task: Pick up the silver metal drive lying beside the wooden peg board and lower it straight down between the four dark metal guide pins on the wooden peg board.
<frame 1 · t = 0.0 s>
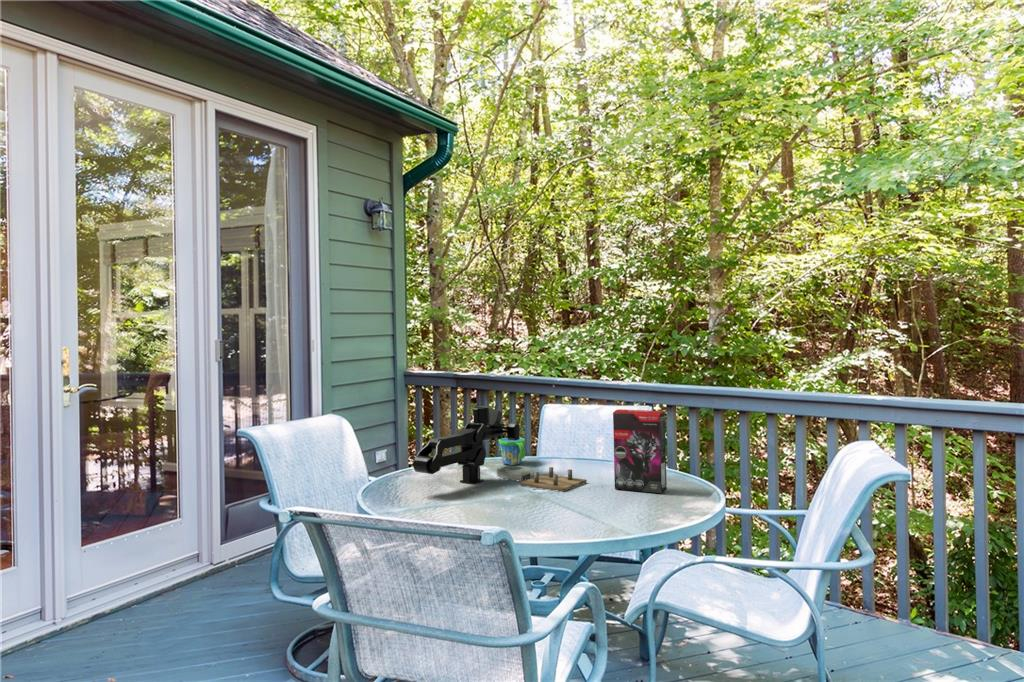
hand: (510, 427, 283), 17 cm above the table, tool horizontal, fingers open, 9 cm apart
wooden peg board: (553, 484, 256), on the table
drive: (514, 478, 267), on the table
graphics card box: (640, 490, 245), on the table
snack cup: (512, 464, 294), on the table
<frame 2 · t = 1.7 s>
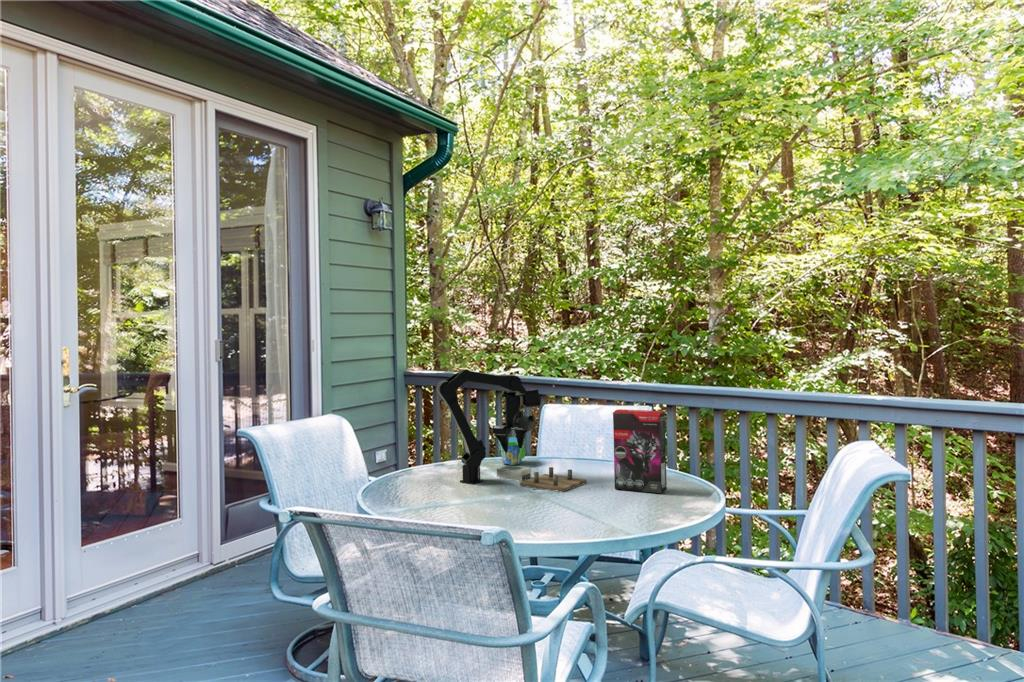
hand: (513, 450, 267), 10 cm above the table, tool pointing down, fingers open, 9 cm apart
nothing on the table moved.
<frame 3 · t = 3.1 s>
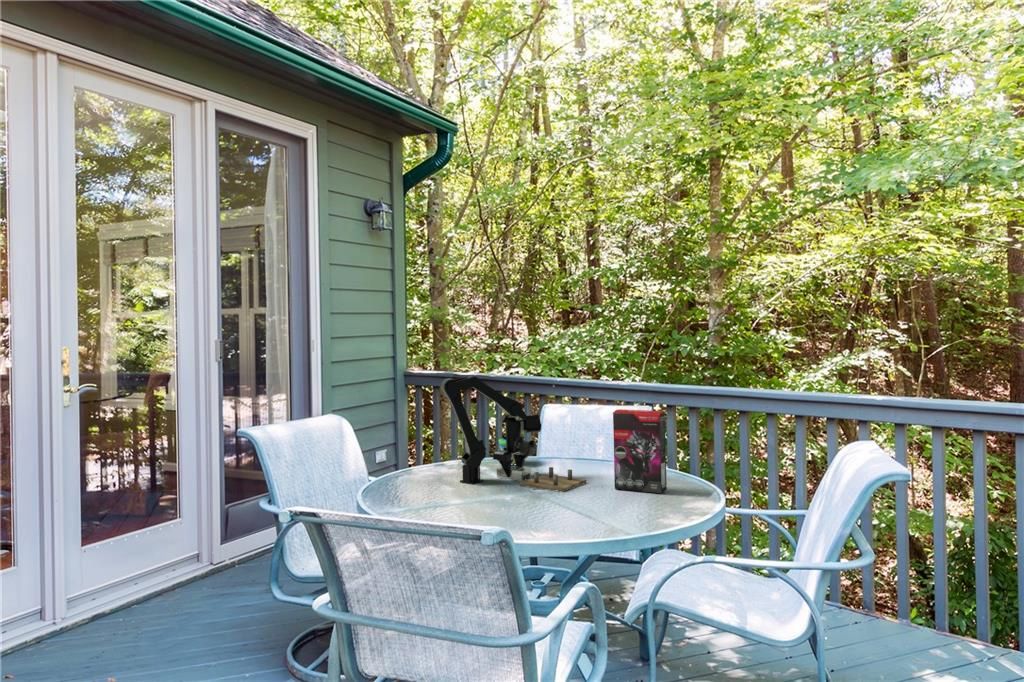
hand: (514, 475, 267), 1 cm above the table, tool pointing down, fingers closed on drive, 7 cm apart
drive: (513, 479, 267), on the table, touching gripper
everything else where it was.
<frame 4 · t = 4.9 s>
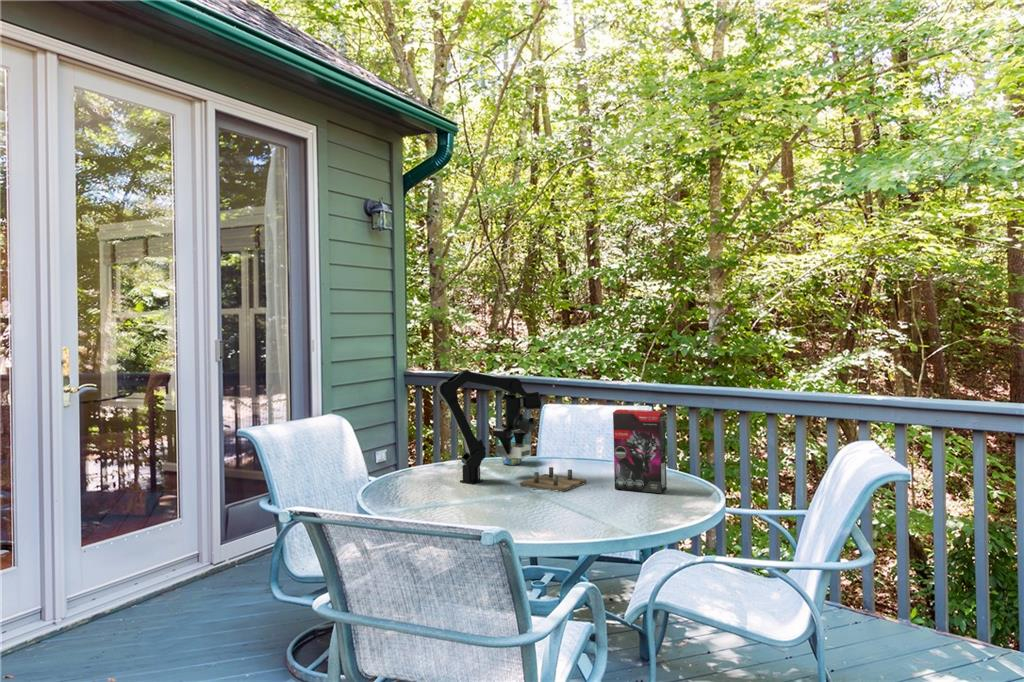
hand: (513, 452, 267), 9 cm above the table, tool pointing down, fingers closed on drive, 6 cm apart
drive: (513, 455, 267), point 8 cm above the table, touching gripper
everything else where it was.
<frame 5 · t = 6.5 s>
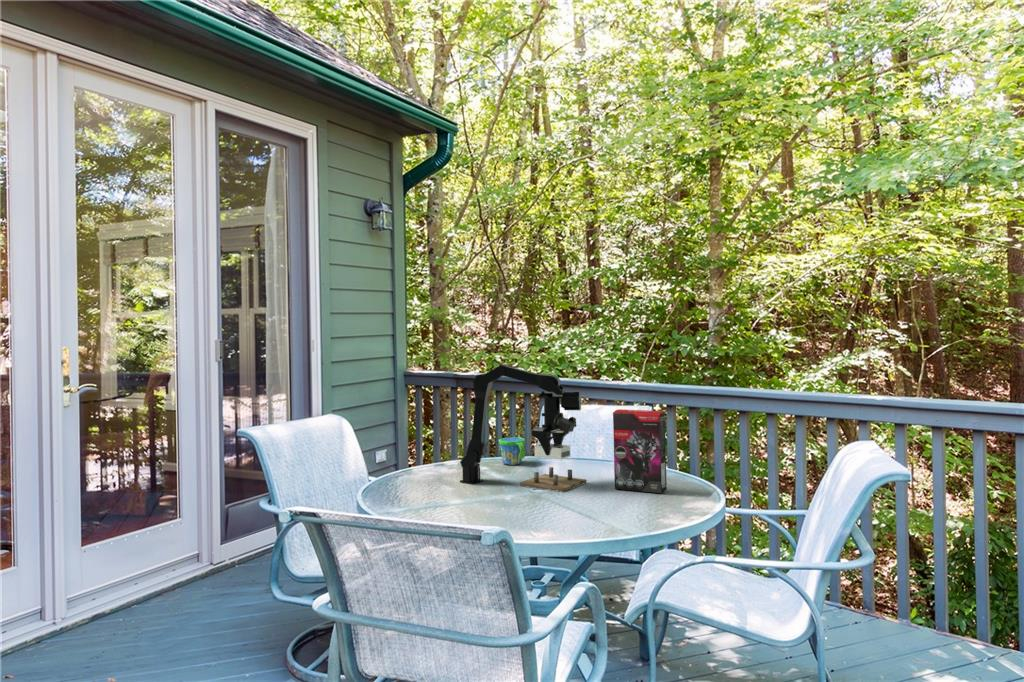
hand: (552, 453, 256), 11 cm above the table, tool pointing down, fingers closed on drive, 6 cm apart
drive: (552, 456, 256), point 10 cm above the table, touching gripper
everything else where it was.
when the fingers open (4 cm above the table, at t = 9.0 s): drive drops 2 cm, resting on wooden peg board.
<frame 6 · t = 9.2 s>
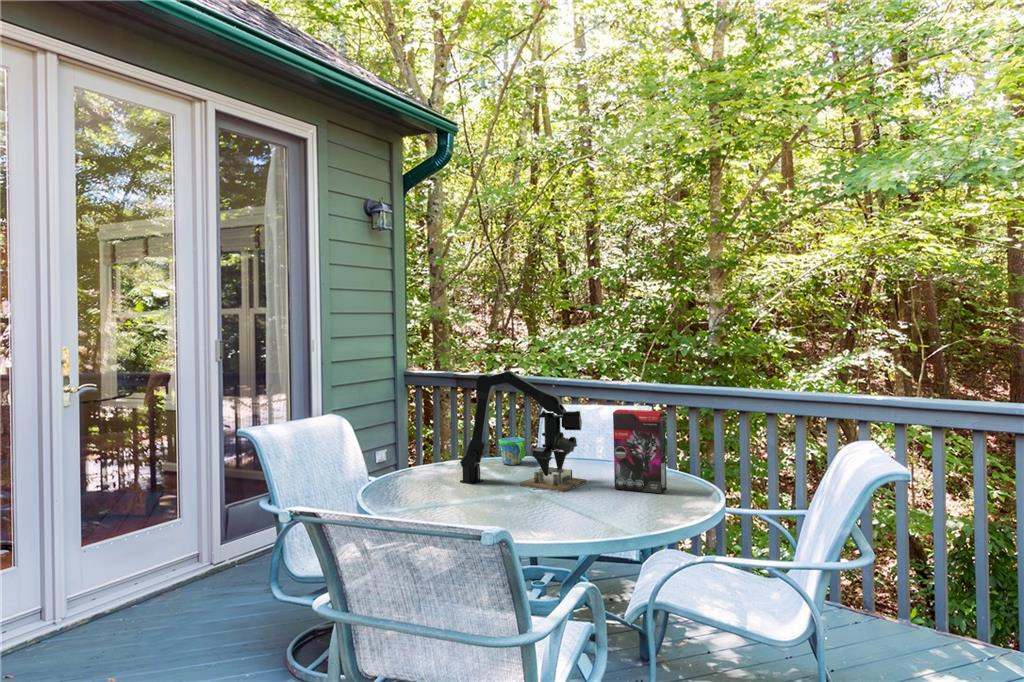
hand: (553, 473, 256), 4 cm above the table, tool pointing down, fingers open, 9 cm apart
drive: (552, 480, 256), point 1 cm above the table, touching wooden peg board
everything else where it was.
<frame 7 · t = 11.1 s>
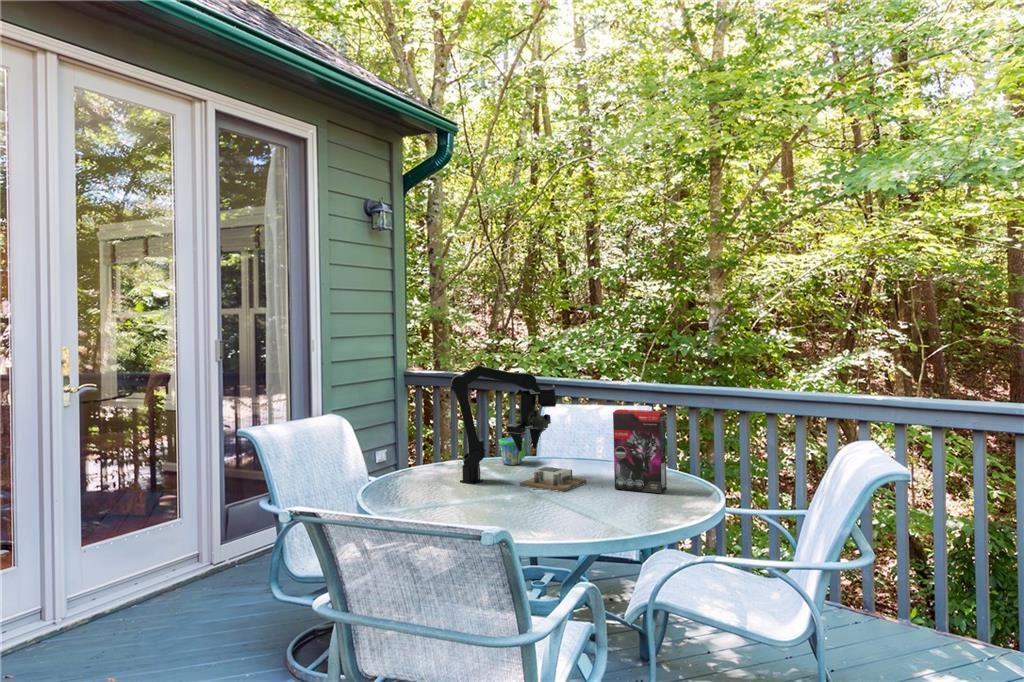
hand: (527, 449, 265), 11 cm above the table, tool pointing down, fingers open, 9 cm apart
nothing on the table moved.
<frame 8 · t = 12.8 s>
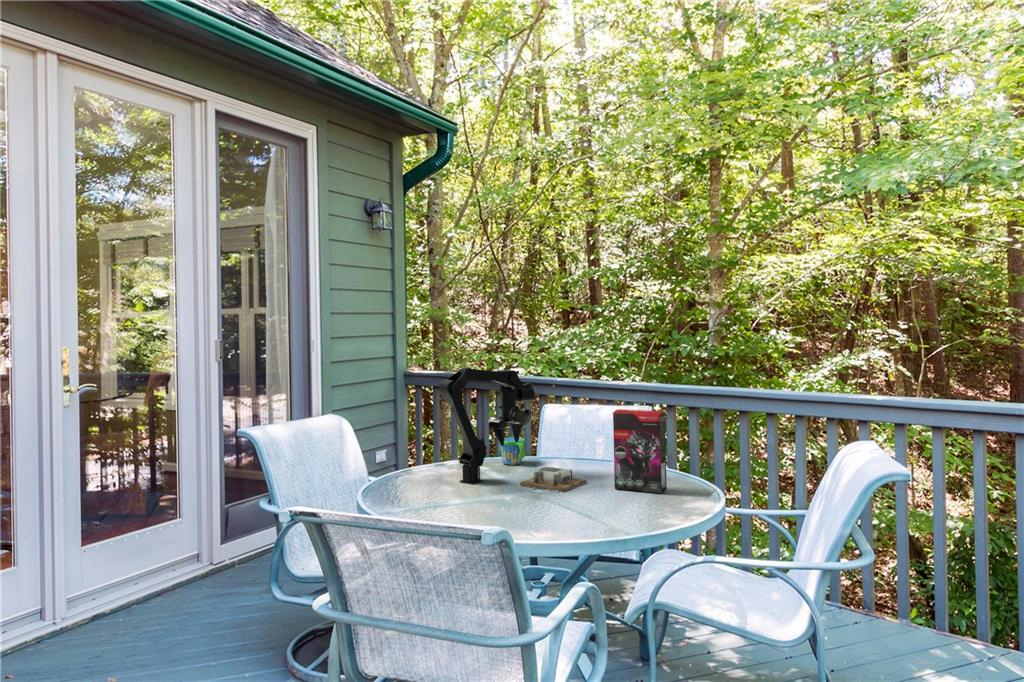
hand: (509, 443, 272), 12 cm above the table, tool pointing down, fingers open, 9 cm apart
nothing on the table moved.
at the end: drive 0.2 cm off-centre on the wooden peg board, point 1.2 cm above the wooden peg board's base; drive tilted 0°; the gripper is holding nothing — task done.
